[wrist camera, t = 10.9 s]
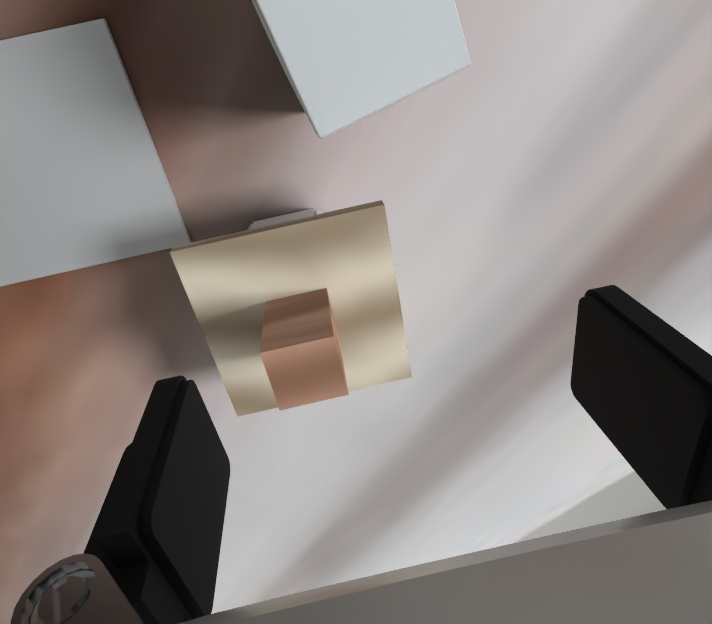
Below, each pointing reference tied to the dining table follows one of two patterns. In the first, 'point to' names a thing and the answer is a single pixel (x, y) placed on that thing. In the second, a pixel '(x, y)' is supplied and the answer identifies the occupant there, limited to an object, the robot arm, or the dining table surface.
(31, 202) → the mat
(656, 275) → the dining table surface
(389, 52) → the supplement box
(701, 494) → the robot arm
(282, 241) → the lid
